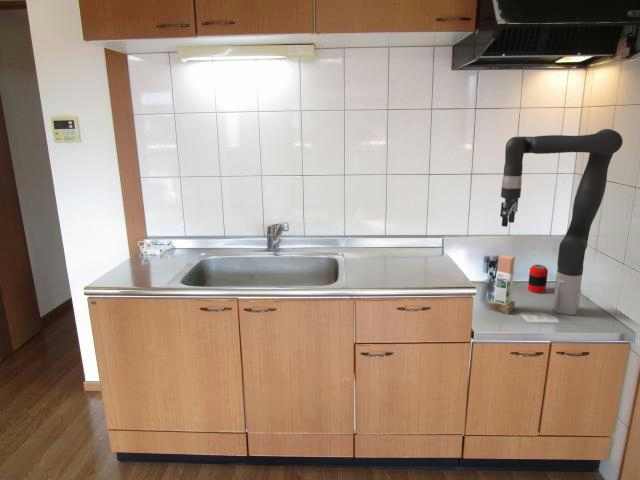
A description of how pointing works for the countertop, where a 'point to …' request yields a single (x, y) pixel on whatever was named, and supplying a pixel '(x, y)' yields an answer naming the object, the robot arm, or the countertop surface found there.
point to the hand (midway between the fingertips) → (507, 224)
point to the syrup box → (503, 287)
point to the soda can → (537, 279)
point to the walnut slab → (501, 307)
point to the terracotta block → (506, 263)
